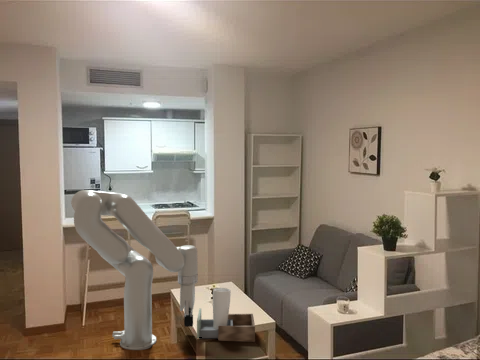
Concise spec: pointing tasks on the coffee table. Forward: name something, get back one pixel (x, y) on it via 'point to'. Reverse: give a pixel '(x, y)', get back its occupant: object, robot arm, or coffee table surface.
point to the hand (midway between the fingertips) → (188, 325)
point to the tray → (208, 327)
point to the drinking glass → (221, 306)
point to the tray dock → (238, 329)
